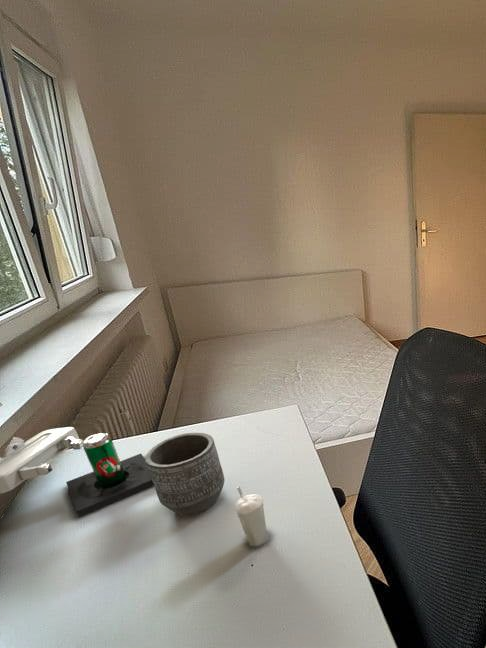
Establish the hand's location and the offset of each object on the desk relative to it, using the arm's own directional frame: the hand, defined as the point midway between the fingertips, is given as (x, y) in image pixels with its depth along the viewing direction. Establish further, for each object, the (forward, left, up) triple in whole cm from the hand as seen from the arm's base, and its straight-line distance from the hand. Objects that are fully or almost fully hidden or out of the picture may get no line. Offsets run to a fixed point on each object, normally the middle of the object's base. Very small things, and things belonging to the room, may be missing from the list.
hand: (66, 456), depth 94 cm
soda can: (+6, -5, -8) cm, 11 cm away
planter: (+17, -25, -8) cm, 31 cm away
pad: (+6, -5, -8) cm, 11 cm away
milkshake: (+21, -44, -8) cm, 49 cm away
